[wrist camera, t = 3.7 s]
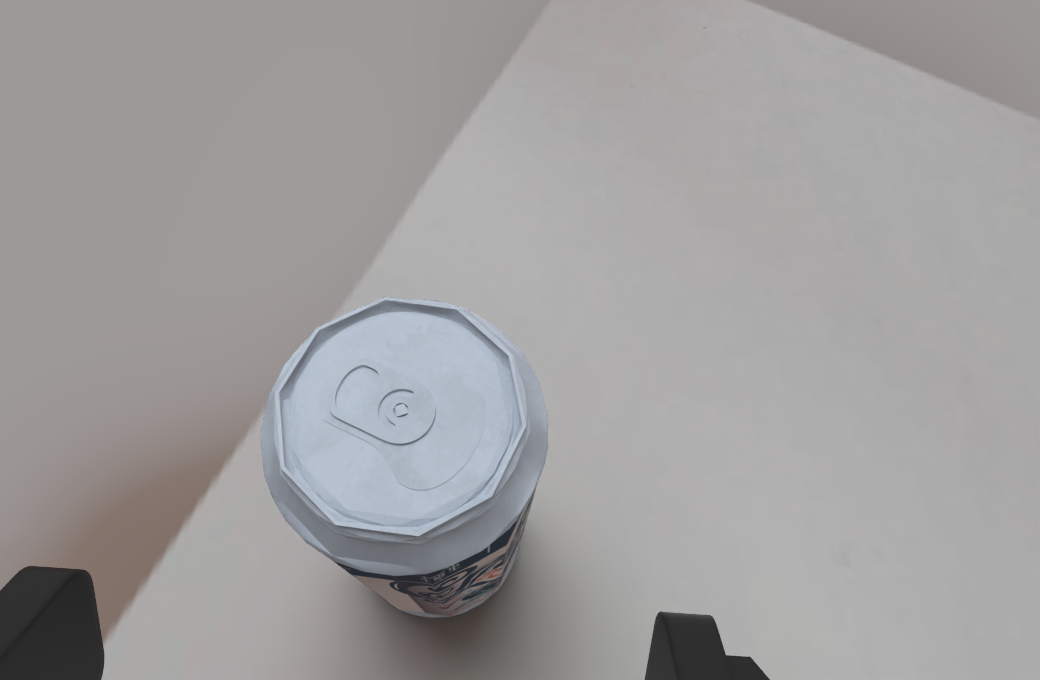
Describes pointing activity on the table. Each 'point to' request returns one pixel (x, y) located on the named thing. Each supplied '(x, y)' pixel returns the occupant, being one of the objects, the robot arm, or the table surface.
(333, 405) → the beer can
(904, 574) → the table surface
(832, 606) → the table surface
